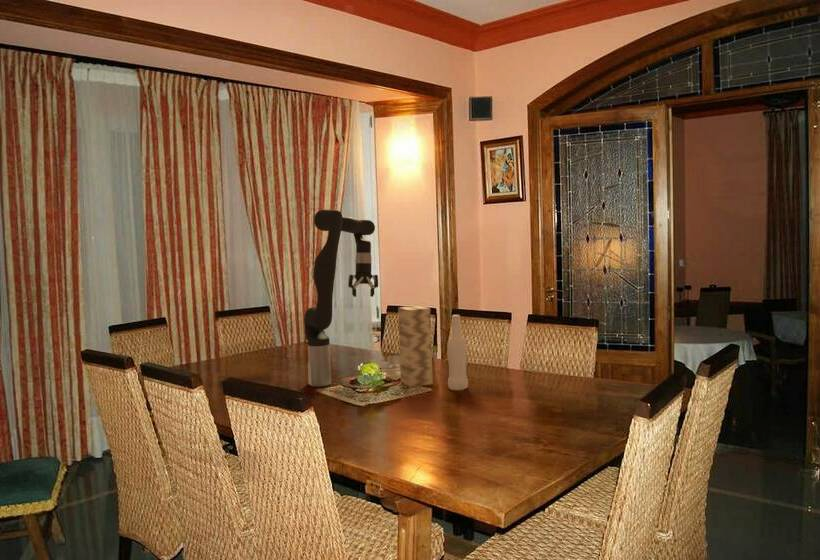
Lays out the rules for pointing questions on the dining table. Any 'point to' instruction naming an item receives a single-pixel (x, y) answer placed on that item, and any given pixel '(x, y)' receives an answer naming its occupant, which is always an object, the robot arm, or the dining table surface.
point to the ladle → (390, 362)
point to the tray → (393, 372)
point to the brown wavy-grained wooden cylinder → (415, 345)
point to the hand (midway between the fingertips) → (363, 296)
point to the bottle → (457, 357)
